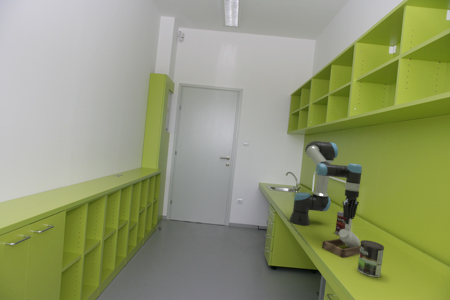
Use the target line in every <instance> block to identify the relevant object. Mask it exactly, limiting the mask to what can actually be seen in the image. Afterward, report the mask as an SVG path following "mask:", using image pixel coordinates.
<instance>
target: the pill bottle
mask: <svg viewBox="0 0 450 300" xmlns="http://www.w3.org/2000/svg"><path fill="white" fill-rule="evenodd" d="M338 236H339V238H340V239H341V240H342V241H343V242H344V243H345V246H347V248H352V247H356V246H360V245H361V243H360V242H361V240H360V238H359V237H358V236H357V235H356V234H355V233H354V232H353V231H352V230H347V229H341V230H340V231H339V235H338Z"/></svg>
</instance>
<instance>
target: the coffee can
mask: <svg viewBox="0 0 450 300" xmlns="http://www.w3.org/2000/svg"><path fill="white" fill-rule="evenodd" d="M359 246H360V253H359V254H358V261H357V271H358V272H359V273H361V274H363V275H365V276H368V277H372V278H380V277H381V272H382V264H383V259H384V258H383V257H384V249H385V246H384V245H383V244H380V243H378V242H376V241H373V240H366V239H364V240H360V245H359Z"/></svg>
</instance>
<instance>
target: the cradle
mask: <svg viewBox="0 0 450 300" xmlns="http://www.w3.org/2000/svg"><path fill="white" fill-rule="evenodd" d="M341 246H346V244H345V243H344V242H343V241H342V240H341V239H340V237H339V238H335V239H328V240H323V241H322V244H321V248H322V249H323V250H326V251H327V252H329V253H332V254H334V255H335V256H338V257H341V258H343V259H344V258H349V257H353V256H357V255H359V253H360V245H359V246H356V247H352V248H350V247H347V248H341Z"/></svg>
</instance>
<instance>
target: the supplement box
mask: <svg viewBox="0 0 450 300" xmlns="http://www.w3.org/2000/svg"><path fill="white" fill-rule="evenodd" d="M336 214H337V215H336V222H335V223H336V224H335V230H334V234H335V235H337V236H339V231H340V230H341V229H345V222H346V218H344V214H343V211H337V212H336Z"/></svg>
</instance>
